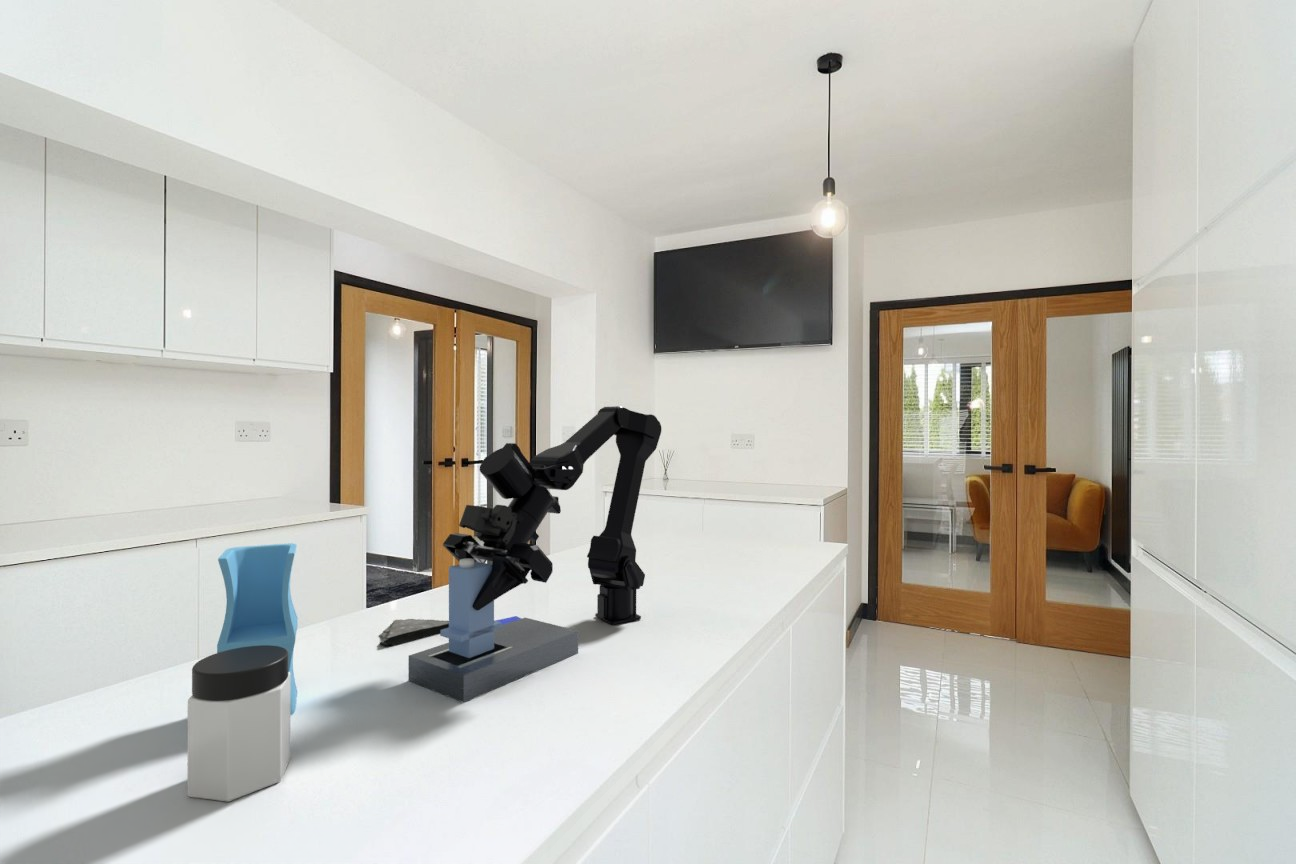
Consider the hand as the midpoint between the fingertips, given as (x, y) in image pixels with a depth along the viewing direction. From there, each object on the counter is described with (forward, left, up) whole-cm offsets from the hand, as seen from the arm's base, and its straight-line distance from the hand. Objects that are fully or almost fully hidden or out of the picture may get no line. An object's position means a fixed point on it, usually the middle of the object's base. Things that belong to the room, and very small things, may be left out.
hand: (463, 606), depth 87 cm
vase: (+24, -5, -11) cm, 27 cm away
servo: (-1, -1, -7) cm, 7 cm away
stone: (+1, -26, -11) cm, 28 cm away
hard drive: (-11, -17, -11) cm, 23 cm away
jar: (+26, +12, -11) cm, 31 cm away
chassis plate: (-6, -2, -10) cm, 12 cm away
